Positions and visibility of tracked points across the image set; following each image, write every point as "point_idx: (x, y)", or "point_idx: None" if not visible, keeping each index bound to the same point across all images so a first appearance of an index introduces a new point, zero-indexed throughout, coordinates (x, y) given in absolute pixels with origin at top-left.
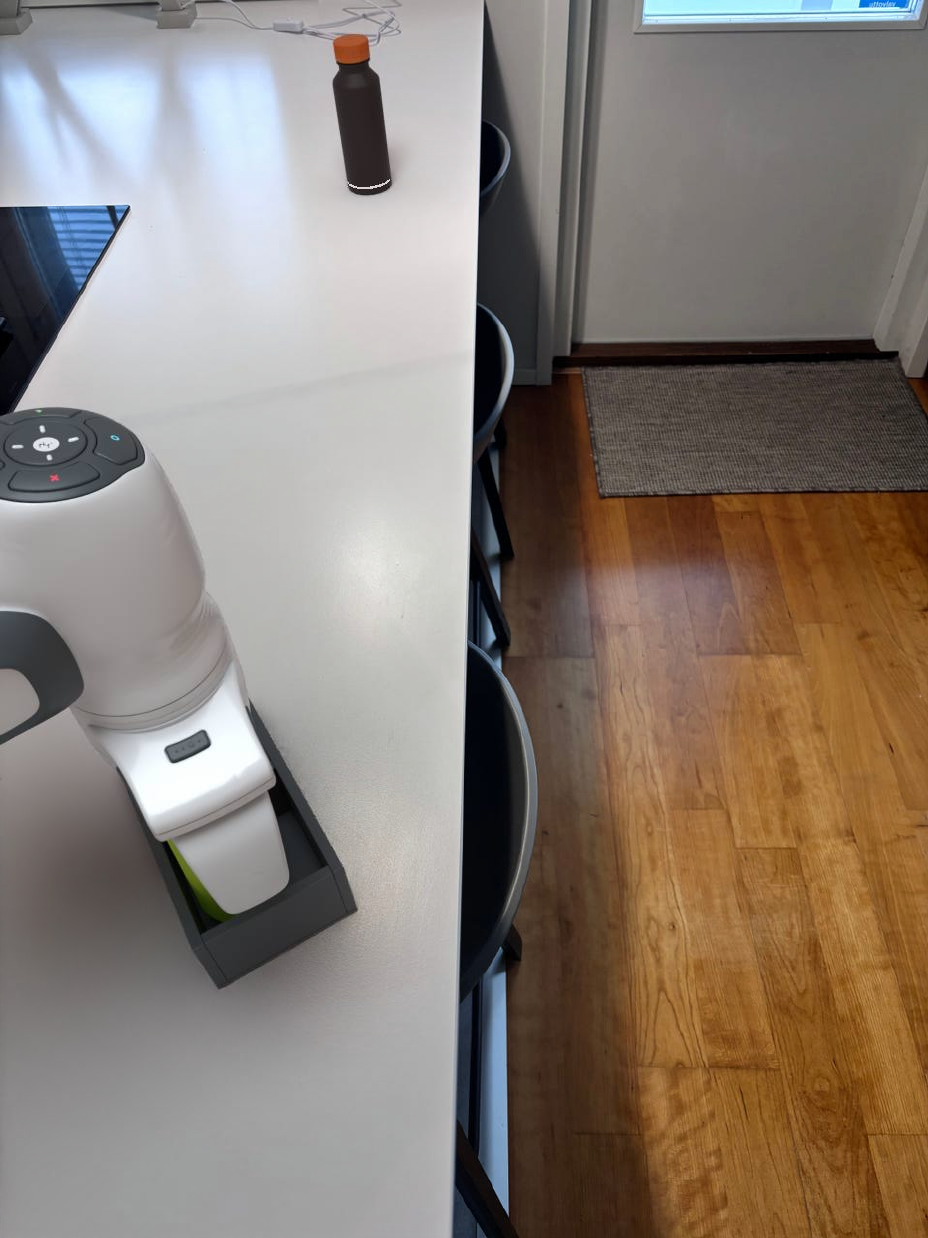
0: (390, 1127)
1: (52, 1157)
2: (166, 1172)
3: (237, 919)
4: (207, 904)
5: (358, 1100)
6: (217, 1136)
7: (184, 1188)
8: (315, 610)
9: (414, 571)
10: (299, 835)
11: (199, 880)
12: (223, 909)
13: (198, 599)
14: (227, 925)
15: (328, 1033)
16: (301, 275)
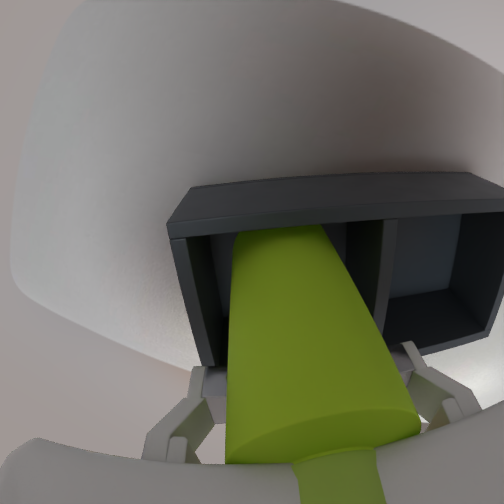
0: (53, 283)
1: (107, 20)
2: (59, 116)
3: (188, 285)
4: (252, 234)
5: (70, 270)
6: (69, 161)
7: (46, 130)
8: (479, 350)
9: None
10: None
11: (247, 276)
12: (2, 464)
13: None
14: (185, 272)
15: (119, 267)
16: None
